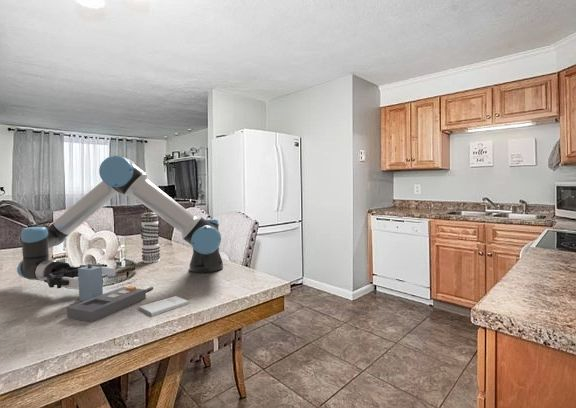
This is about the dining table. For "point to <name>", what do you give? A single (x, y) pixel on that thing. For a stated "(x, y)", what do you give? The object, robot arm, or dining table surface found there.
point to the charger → (90, 282)
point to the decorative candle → (150, 237)
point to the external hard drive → (163, 305)
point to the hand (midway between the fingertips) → (97, 277)
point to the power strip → (106, 303)
